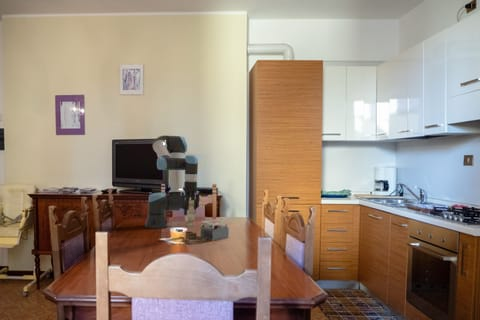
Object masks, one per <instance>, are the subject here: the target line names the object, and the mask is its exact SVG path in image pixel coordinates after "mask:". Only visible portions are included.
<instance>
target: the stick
mask: <svg viewBox="0 0 480 320" xmlns="http://www.w3.org/2000/svg"><path fill="white" fill-rule="evenodd" d="M187 210H189V216H188V221H186V220H185V223H184V224H185V226H184V227H185V228H189V229H190V228H194V220H195V214H194V200H191V199H189V204H188V209H187Z"/></svg>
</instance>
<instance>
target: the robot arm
mask: <svg viewBox="0 0 480 320" xmlns="http://www.w3.org/2000/svg"><path fill="white" fill-rule="evenodd" d="M152 149H153V151H154V152H155V153H156V156H157V159H156V168H157V170H162V171H170V190H169V191H168V194H167V193H166V192H165V191H162V192H161V191H160V192H154V193H150V194H149V195H148V201H147V202H148V207H147V208H148V211H147V218H146V221H145V222H144V225H145V226H144V227H145V228H147V229H165V228H167V227H168V226H169V225H168V219H167V216H166V212H172V211H173V212H174V211H176V212H177V211H178V212H179V211H183V215H184V221H185V222H186V221H188V216H189V210H187V209H188V204H189V200H194V215H196V210H197V208H199V206H200V197H201V196H200V195H201V193H202V192H201V191H199V190H198V189H197V188H198V171H199V170H198V168H199V164H198V163H199V157H198V156H197V155H192V154H191V155H190V154H189V155H188V154H186V153H187V152H188V141H187V139H186V137H185V136H181V135H161V136H158V137H156V138H155V139H154V140H153V142H152ZM185 154H186V155H185ZM184 156H185V157H184ZM183 175H184V177H183Z"/></svg>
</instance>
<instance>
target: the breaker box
mask: <svg viewBox="0 0 480 320" xmlns="http://www.w3.org/2000/svg"><path fill="white" fill-rule="evenodd" d="M212 222H218V223H212ZM200 223H201V226H200V236H199V237H202V238H205V239H206V240H209V241H212V242H214V241H218V240H225V239H229V236H230V235H229V232H230V230H229V227H228V225H229V223H230V222H228V221H224V220H220V219H217V218H216V219H209V220H202V221H200ZM215 225H218V227H214V226H215Z"/></svg>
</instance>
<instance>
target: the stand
mask: <svg viewBox="0 0 480 320" xmlns="http://www.w3.org/2000/svg"><path fill="white" fill-rule="evenodd" d="M185 232H186V237H191V236H197V232H194V231H193V230H192V231H185Z"/></svg>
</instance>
